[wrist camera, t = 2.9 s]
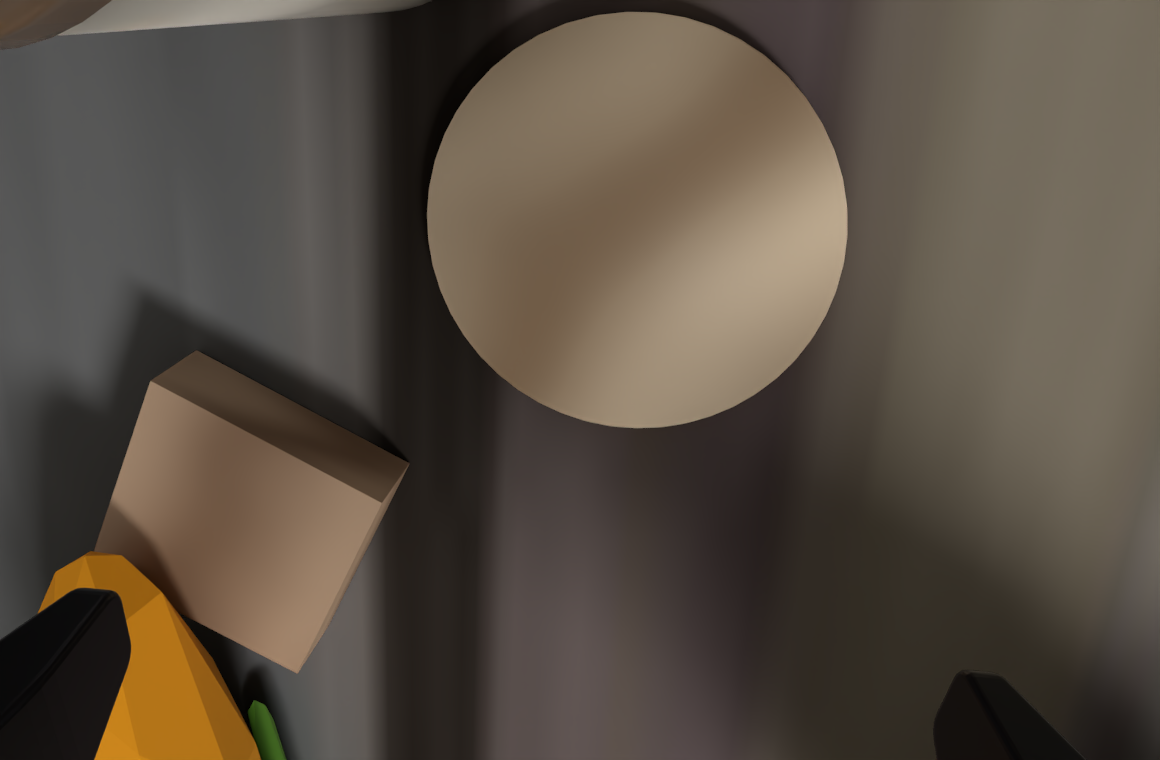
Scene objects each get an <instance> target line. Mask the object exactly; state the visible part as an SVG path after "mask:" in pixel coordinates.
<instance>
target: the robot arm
mask: <svg viewBox="0 0 1160 760" xmlns="http://www.w3.org/2000/svg"><path fill="white" fill-rule="evenodd" d="M130 656H131V640H130V636H129V631H128V627H127V622H126V618H125V613H124V609H123V604H122V600H121V598H120V596H119V595H118V593H117V592H115V591H112V590H105V589H94V588H77V589H74V590H72V591H70V592H68V593H67V594H65V595H64V596H63V597H61V598H60V599H58V600H57V601H55V602H54V603H52V604H51V605H50V606H48V607H47V608H45V609H44V610H42V611H41V612H39V613H38V614H37V615H35V616H34V617H32V618H31V619H29V620H28V621H27V622H25V623H24V624H22V625H21V626H19V627H18V628H16V629H15V630H14V631H12V632H11V633H9V634H8V635H6V636H5V637H3V638H2V639H1V640H0V760H94V759H95V757H96V754H97V751H98V748H99V745H100V743H101V740H102V737H103V734H104V732H105V729H106V726H107V723H108V721H109V718H110V715H111V712H112V710H113V707H114V704H115V701H116V699H117V696H118V693H119V690H120V688H121V685H122V682H123V679H124V676H125V674H126V671H127V668H128V665H129V661H130ZM933 736H934V744H935V750H936V755H937V760H1086V759H1085V758H1084V757H1083V756H1082V755H1081V754H1080V753H1079V752H1078V751H1077V750H1076V749H1075V748H1074V747H1073V746H1072V745H1071V744H1070V743H1069V742H1068V741H1067V740H1066V739H1065V738H1064V737H1063V736H1062V735H1061V734H1060V733H1059V732H1058V731H1057V730H1056V729H1055V728H1054V727H1053V726H1052V725H1051V724H1050V723H1049V722H1048V721H1047V720H1046V719H1045V718H1044V717H1043V716H1042V715H1041V714H1040V713H1039V712H1038V711H1037V710H1036V709H1035V708H1034V707H1033V706H1032V705H1031V704H1030V703H1029V702H1028V701H1027V700H1026V699H1025V698H1024V697H1023V696H1022V695H1021V694H1020V693H1019V692H1018V691H1017V690H1016V689H1015V688H1014V687H1013V686H1012V685H1011V684H1010V683H1009V682H1008V681H1007V680H1006V679H1005V678H1003V677H1002V676H1000V675H999V674H997V673H993V672H984V671H974V670H962V671H960V672H959V673H958V674H956V676H955V678H954V679H953V681H952V683H951V685H950V687H949V690H948V692H947V694H946V696H945V698H944V700H943V702H942V704H941V706H940V708H939V710H938V712H937V714H936V717H935V721H934V728H933Z"/></svg>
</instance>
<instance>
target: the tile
mask: <svg viewBox="0 0 1160 760" xmlns="http://www.w3.org/2000/svg"><path fill="white" fill-rule="evenodd" d="M409 464H410V463H408V462H406V461H404V460H402V459H400V458H398V457H396V456H395V455H393V454H391V453H389V452H387V451H385V450H383V449H381V448H380V447H378V446H376V445H374V444H372V443H370V442H368V441H366V440H365V439H363V438H361V437H359V436H357V435H355V434H353V433H351V432H349V431H348V430H346V429H344V428H342V427H340V426H338V425H336V424H334V423H333V422H331V421H329V420H327V419H325V418H323V417H321V416H319V415H318V414H316V413H314V412H312V411H310V410H308V409H306V408H304V407H302V406H301V405H299V404H297V403H295V402H293V401H291V400H289V399H287V398H286V397H284V396H282V395H280V394H278V393H276V392H274V391H272V390H270V389H269V388H267V387H265V386H263V385H261V384H259V383H257V382H255V381H254V380H252V379H250V378H248V377H246V376H244V375H242V374H240V373H239V372H237V371H235V370H233V369H231V368H229V367H227V366H225V365H223V364H222V363H220V362H218V361H216V360H214V359H212V358H210V357H208V356H207V355H205V354H203V353H201V352H199V351H197V350H196V351H195V352H193V353H192V354H190V355H188V356H187V357H185V358H184V359H182V360H181V361H179V362H178V363H176V364H175V365H173V366H172V367H170V368H169V369H167V370H166V371H164V372H163V373H161V374H160V375H158V376H157V377H155V378H154V379H152V380H151V381H150V383H149V386H148V389H147V392H146V395H145V398H144V401H143V404H142V407H141V410H140V413H139V416H138V419H137V422H136V425H135V428H134V432H133V435H132V438H131V441H130V444H129V447H128V450H127V453H126V456H125V459H124V462H123V465H122V468H121V471H120V474H119V477H118V480H117V483H116V486H115V489H114V492H113V495H112V498H111V501H110V504H109V507H108V510H107V513H106V516H105V519H104V522H103V525H102V528H101V531H100V534H99V537H98V540H97V543H96V546H95V549H94V552H101V553H108V554H116V555H122V556H123V557H124V558H125V559H127V560H128V561H129V562H130V563H132V564H133V565H134V566H135V567H136V568H137V569H138V570H139V571H140V572H141V573H142V574H143V575H144V576H145V577H147V578H148V579H149V580H150V581H151V582H152V583H153V584H154V585H155V586H156V587H157V588H158V589H159V590H160V591H161V592H162V593H163V594H164V595H165V597H166V598H167V599H168V601H169V602H170V603H171V605H172V606H173V607H174V609H175V610H176V611H177V612H179V613H181V614H183V615H185V616H187V617H189V618H191V619H192V620H194V621H196V622H198V623H200V624H202V625H204V626H206V627H208V628H210V629H212V630H214V631H216V632H218V633H220V634H222V635H223V636H225V637H227V638H229V639H231V640H233V641H235V642H237V643H239V644H241V645H243V646H245V647H247V648H249V649H251V650H253V651H254V652H256V653H258V654H260V655H262V656H264V657H266V658H268V659H270V660H272V661H274V662H276V663H278V664H280V665H282V666H284V667H285V668H287V669H289V670H291V671H293V672H295V673H297V674H298V672H299V671H300V669H301V668H302V666H303V664H304V663H305V661H306V660H307V658H308V657H309V655H310V654H311V652H312V651H313V649H314V647H315V646H316V644H317V643H318V641H319V640H320V638H321V637H322V635H323V634H324V632H325V630H326V629H327V627H328V626H329V624H330V622H331V620H332V618H333V616H334V614H335V612H336V610H337V608H338V606H339V604H340V602H341V600H342V598H343V596H344V594H345V592H346V590H347V588H348V586H349V584H350V582H351V580H352V578H353V576H354V574H355V572H356V570H357V568H358V566H359V564H360V562H361V560H362V558H363V556H364V554H365V552H366V550H367V548H368V546H369V544H370V542H371V540H372V538H373V536H374V534H375V532H376V530H377V528H378V526H379V524H380V522H381V520H382V518H383V516H384V514H385V512H386V510H387V508H388V506H389V504H390V502H391V500H392V498H393V496H394V494H395V492H396V490H397V488H398V486H399V484H400V482H401V480H402V478H403V476H404V474H405V472H406V470H407V468H408V466H409Z"/></svg>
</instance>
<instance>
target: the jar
mask: <svg viewBox="0 0 1160 760" xmlns="http://www.w3.org/2000/svg"><path fill="white" fill-rule="evenodd" d="M429 1H432V0H0V50H4V49H12V48H19V47H23V46H26V45H29V44H33V43H36V42H39V41H42V40H46V39H49V38H52V37H54V36H60V35H74V34H88V33H102V32H116V31H130V30H144V29H158V28H173V27H187V26H201V25H215V24H229V23H243V22H257V21H271V20H285V19H299V18H313V17H328V16H342V15H356V14H370V13H384V12H393V11H401V10H406V9H410V8H414V7H417V6H421V5H423V4H425V3H427V2H429Z"/></svg>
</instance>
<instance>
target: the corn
mask: <svg viewBox="0 0 1160 760" xmlns="http://www.w3.org/2000/svg"><path fill="white" fill-rule="evenodd" d="M77 588H94V589H105V590H112V591H115V592H117V593H118V595H119V596H120V598H121V600H122V604H123V609H124V613H125V618H126V622H127V627H128V631H129V636H130V640H131V656H130V661H129V665H128V668H127V671H126V674H125V676H124V679H123V682H122V685H121V688H120V690H119V693H118V696H117V699H116V701H115V704H114V707H113V710H112V712H111V715H110V718H109V721H108V723H107V726H106V729H105V732H104V734H103V737H102V740H101V743H100V745H99V748H98V751H97V754H96V757H95V759H94V760H287V759H286V756H285V753H284V750H283V747H282V744H281V741H280V738H279V735H278V732H277V729H276V726H275V723H274V720H273V718H272V716H271V714H270V713H269V711H268V709H267V707H266V706H265V705H264V704H262V703H260V702H258V701H255V700H254V701H253V703H252V705H251V706H250V708H249V710H248V711H247V712H248V716H249V720H250V724H251V728H252V732H253V736H254V738H253V736H252V734H251V733H250V731H249V729H248V727H247V725H246V723H245V721H244V719H243V717H242V715H241V713H240V711H239V709H238V707H237V705H236V703H235V701H234V699H233V697H232V695H231V693H230V691H229V689H228V688H227V686H226V684H225V682H224V680H223V678H222V676H221V674H220V672H219V670H218V668H217V666H216V664H215V662H214V660H213V658H212V657H211V656H210V654H209V653H208V652H207V650H206V649H205V648H204V646H203V645H202V644H201V642H200V641H199V640H198V639H197V637H196V636H195V635H194V633H193V632H192V631H191V629H190V628H189V627H188V625H187V624H186V623H185V622H184V620H183V619H182V618H181V616H180V615H179V614H178V612H177V611H176V610H175V609H174V607H173V606H172V605H171V603H170V602H169V601H168V599H167V598H166V597H165V595H164V594H163V593H162V592H161V591H160V590H159V589H158V588H157V587H156V586H155V585H154V584H153V583H152V582H151V581H150V580H149V579H148V578H147V577H145V576H144V575H143V574H142V573H141V572H140V571H139V570H138V569H137V568H136V567H135V566H134V565H133V564H132V563H130V562H129V561H128V560H127V559H125V558H124V557H123V556H122V555H116V554H108V553H101V552H93V551H90V552H88V553H86V554H85V555H83V556H81V557H80V558H78V559H76V560H75V561H73V562H71V563H70V564H68V565H66V566H65V567H63V568H61V569H59V570H58V571H56V572H55V574H54V577H53V579H52V581H51V584H50V586H49V588H48V591H47V593H46V595H45V598H44V600H43V602H42V605H41V607H40V609H39V612H41V611H42V610H44V609H45V608H47V607H48V606H50V605H51V604H52V603H54V602H55V601H57V600H58V599H60V598H61V597H63V596H64V595H65V594H67V593H68V592H70V591H72V590H74V589H77ZM39 612H38V613H39Z"/></svg>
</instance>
